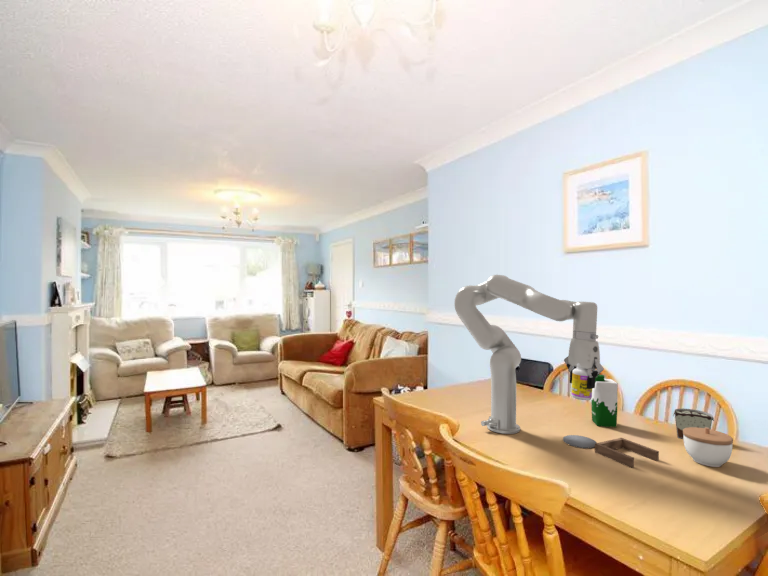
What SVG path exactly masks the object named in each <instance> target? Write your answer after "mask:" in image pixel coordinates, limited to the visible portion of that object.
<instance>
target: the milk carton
mask: <svg viewBox="0 0 768 576" xmlns="http://www.w3.org/2000/svg"><path fill="white" fill-rule="evenodd" d="M618 385H619V383H618V382H616V381H615V380H614V379H611V378H605V375H603V374H601V373H600V374H599V375H598V376H597V377H595V388H592V398H591V421H592V422H593V424H594V425H596V426H597V427H603V428H604V427H605V428H617V427H618V426H617V423H618V422H617V421H618V389H619V388H618Z"/></svg>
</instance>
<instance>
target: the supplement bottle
mask: <svg viewBox="0 0 768 576" xmlns="http://www.w3.org/2000/svg"><path fill="white" fill-rule="evenodd" d="M591 372H592V370H591ZM588 377H589V375H588V372H587V369H584V368H582V367H581V365H580V364H579V363H578V364H577V367H576V368H575V369H574V370H573V373H572V383H571V393H570V395H571V397H572V398H573V399H575V400H580V401H590V400H591V401H592V389H588V388H587V378H588Z"/></svg>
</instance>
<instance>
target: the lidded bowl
mask: <svg viewBox="0 0 768 576" xmlns="http://www.w3.org/2000/svg"><path fill="white" fill-rule="evenodd" d="M682 440H683V446H684V449H685V451H686V453H687V454H688V455H689V457H690V458H692V461H694V462H695V463H697V464H700V465H703V466H706V467H713V468H720V467H722V466H723V464H725V463H727V462H728V461H729V460H730V459H731V456H732V453H733V443H734V438H733V437H732V436H730V435H729V434H727V433H724V432H721V431H718V430H716V429H712V428H711V429H710V428H707V427H705V428H698V427H689V428H684V429H683V439H682Z"/></svg>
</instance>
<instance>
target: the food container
mask: <svg viewBox="0 0 768 576" xmlns="http://www.w3.org/2000/svg"><path fill="white" fill-rule="evenodd" d="M672 416H673V417H674V419H675V429H676V436H677V438H678V439H682V440H683V429H684V428H689V427H698V428H705V427H707V428H710V429H711V430H712V423H713V422H715V417H714V416H713V414H711V413H709V412H706V411H703V410H698V409H693V408H675V409H674V410H673V413H672Z"/></svg>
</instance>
